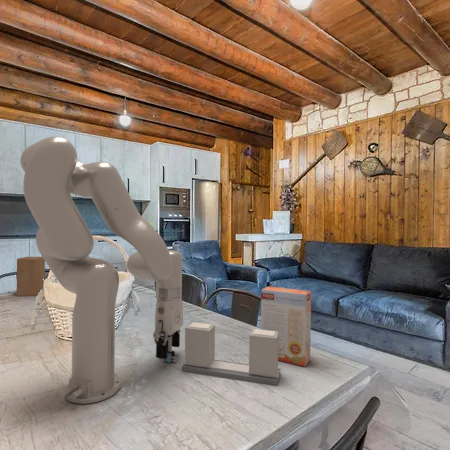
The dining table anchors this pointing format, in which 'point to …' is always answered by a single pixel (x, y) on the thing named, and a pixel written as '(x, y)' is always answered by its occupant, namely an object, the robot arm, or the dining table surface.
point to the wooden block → (30, 275)
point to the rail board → (253, 372)
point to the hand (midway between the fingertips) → (168, 351)
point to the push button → (169, 349)
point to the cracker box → (288, 322)
